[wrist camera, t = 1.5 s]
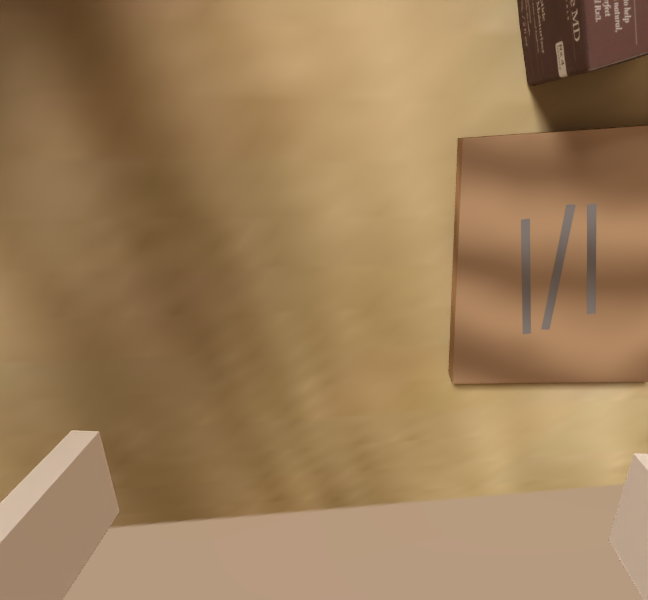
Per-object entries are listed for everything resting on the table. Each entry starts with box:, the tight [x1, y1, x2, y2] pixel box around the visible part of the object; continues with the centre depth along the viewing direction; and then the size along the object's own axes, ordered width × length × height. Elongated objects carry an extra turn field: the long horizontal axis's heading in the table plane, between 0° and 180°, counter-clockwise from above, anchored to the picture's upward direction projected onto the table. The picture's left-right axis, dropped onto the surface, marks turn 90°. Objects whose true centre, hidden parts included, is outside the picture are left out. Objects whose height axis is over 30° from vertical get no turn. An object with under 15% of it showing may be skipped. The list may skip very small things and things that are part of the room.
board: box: [449, 125, 648, 384], centre depth 27 cm, size 16×13×2 cm
